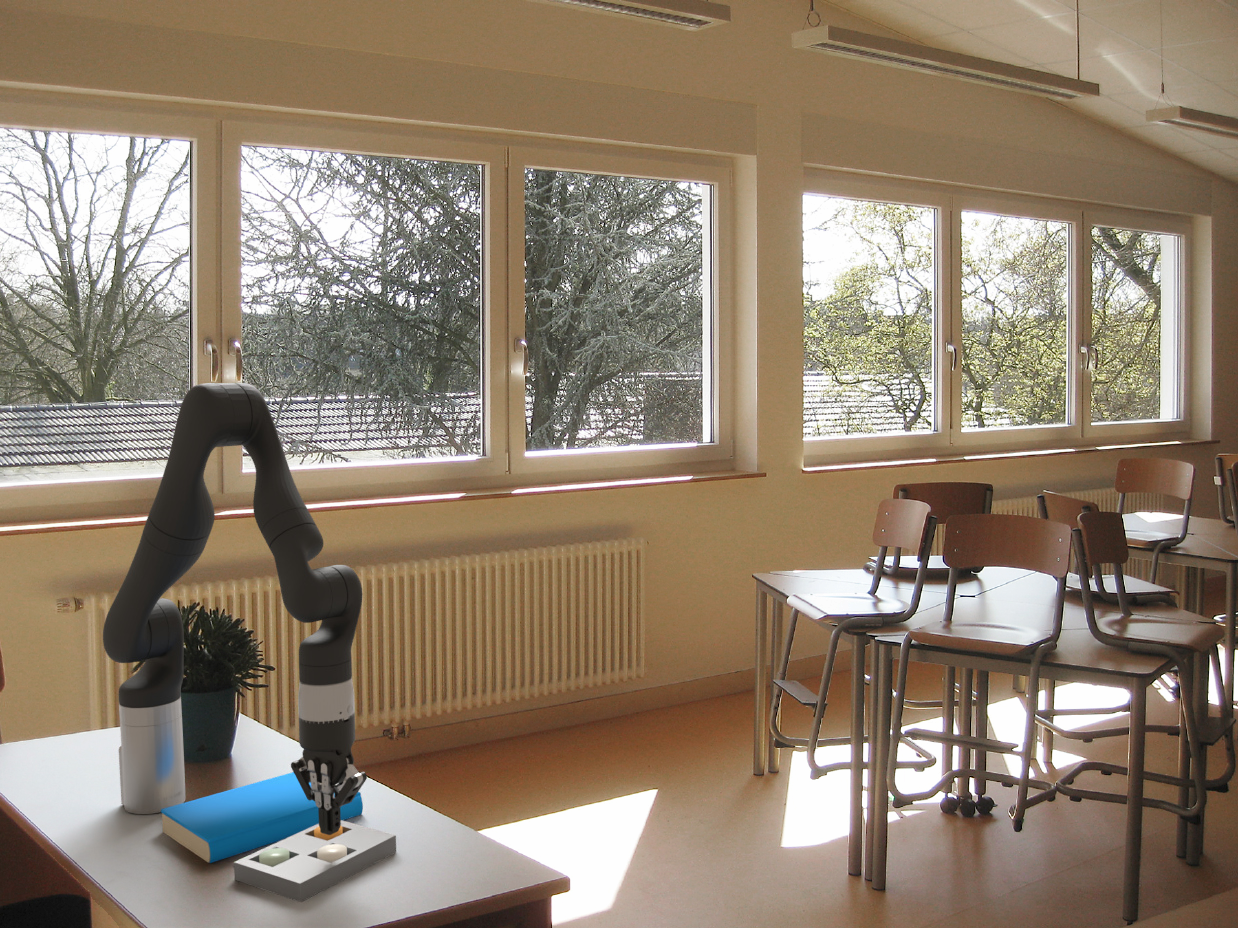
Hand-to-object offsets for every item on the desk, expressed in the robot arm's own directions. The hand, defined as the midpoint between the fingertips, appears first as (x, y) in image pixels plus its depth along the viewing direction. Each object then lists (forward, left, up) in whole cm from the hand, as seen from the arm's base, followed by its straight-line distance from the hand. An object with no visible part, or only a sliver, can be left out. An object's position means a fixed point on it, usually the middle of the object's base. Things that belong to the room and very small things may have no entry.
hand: (330, 832), depth 158 cm
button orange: (-6, +5, -5) cm, 9 cm away
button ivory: (0, 0, -5) cm, 5 cm away
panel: (-3, 0, -5) cm, 6 cm away
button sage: (-6, -5, -5) cm, 9 cm away
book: (-22, +7, -6) cm, 23 cm away
